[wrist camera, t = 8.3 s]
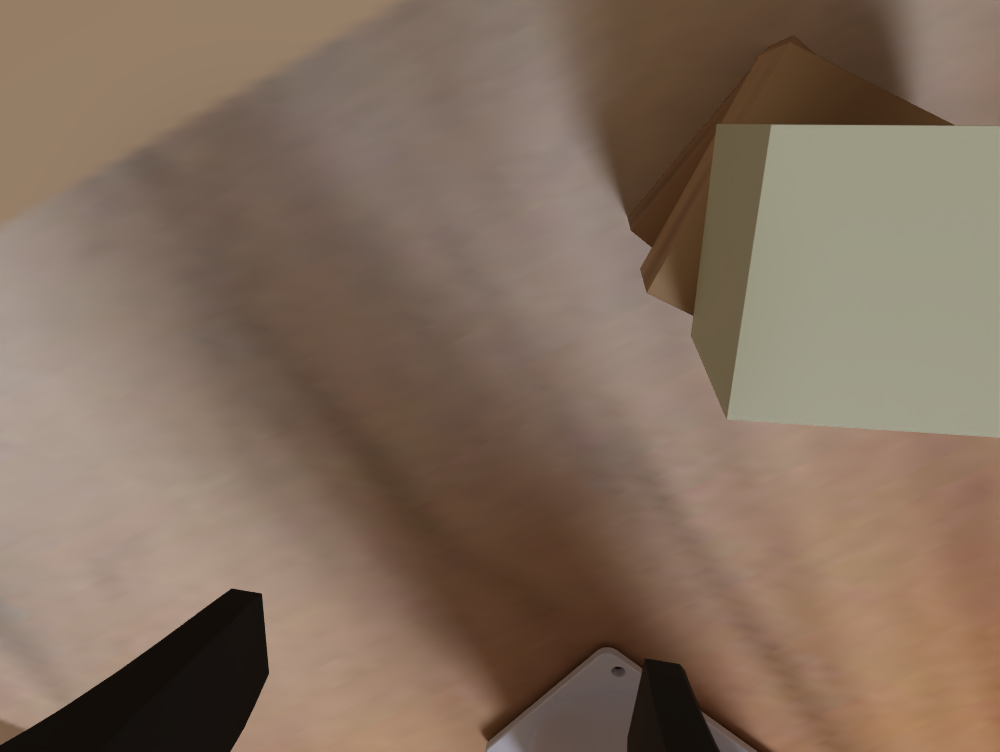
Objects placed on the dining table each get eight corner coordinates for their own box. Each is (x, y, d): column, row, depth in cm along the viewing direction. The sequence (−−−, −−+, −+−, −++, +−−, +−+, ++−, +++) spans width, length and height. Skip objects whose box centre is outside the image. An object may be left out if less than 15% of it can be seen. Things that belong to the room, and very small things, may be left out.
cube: (957, 125, 12) (1136, 127, 8) (902, 345, 14) (1028, 439, 10) (717, 123, 13) (771, 124, 9) (690, 335, 15) (726, 419, 10)
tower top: (969, 161, 15) (1041, 169, 12) (825, 359, 17) (862, 398, 15) (759, 55, 15) (789, 42, 12) (640, 268, 17) (646, 293, 14)
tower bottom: (917, 179, 17) (967, 188, 15) (766, 329, 19) (789, 358, 17) (766, 47, 17) (794, 35, 14) (627, 216, 19) (630, 230, 16)
